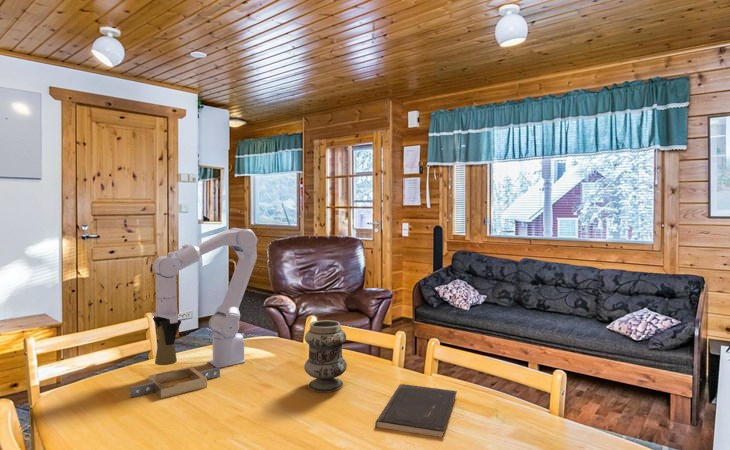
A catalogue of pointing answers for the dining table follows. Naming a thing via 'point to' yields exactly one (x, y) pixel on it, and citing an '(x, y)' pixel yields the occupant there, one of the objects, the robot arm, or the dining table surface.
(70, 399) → the dining table surface
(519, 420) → the dining table surface
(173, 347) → the cork
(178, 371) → the square frame
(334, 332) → the apothecary jar
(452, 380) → the dining table surface
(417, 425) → the hardcover book
